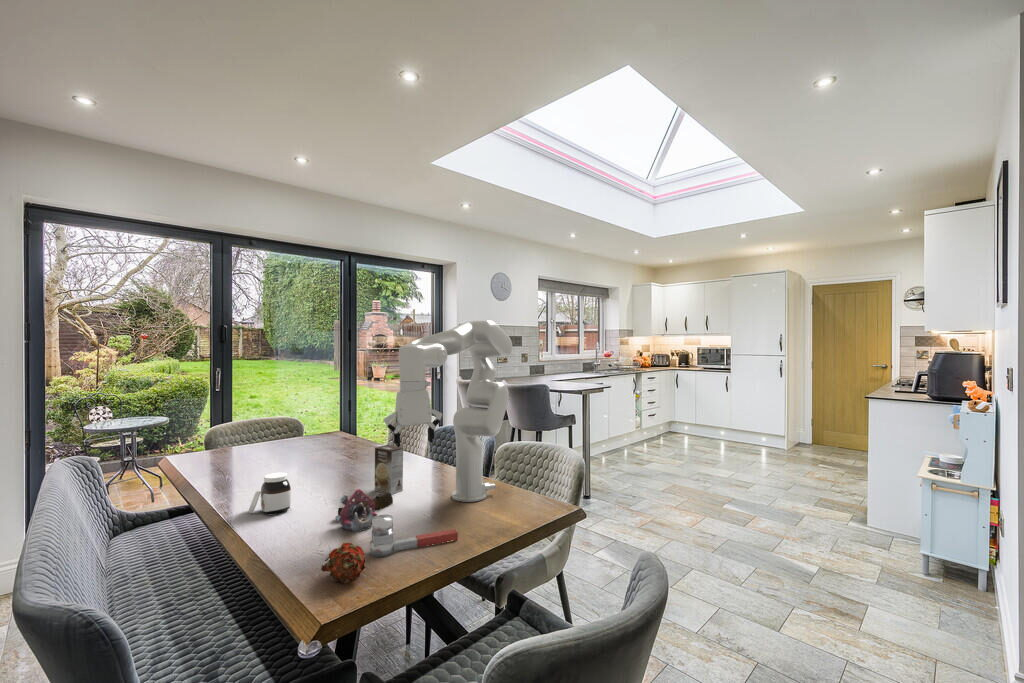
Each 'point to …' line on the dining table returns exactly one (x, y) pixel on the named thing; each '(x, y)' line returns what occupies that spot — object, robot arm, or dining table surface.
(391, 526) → the socket
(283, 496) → the spread jar
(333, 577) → the dragon fruit
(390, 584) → the dining table surface
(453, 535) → the ratchet
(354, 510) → the brake caliper
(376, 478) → the coffee box
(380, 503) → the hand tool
